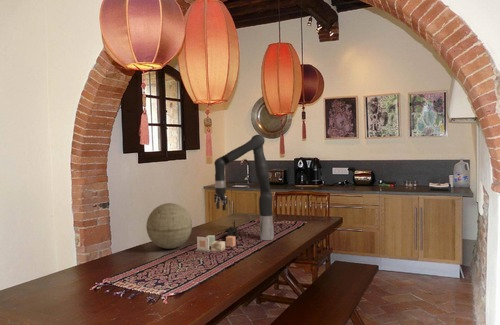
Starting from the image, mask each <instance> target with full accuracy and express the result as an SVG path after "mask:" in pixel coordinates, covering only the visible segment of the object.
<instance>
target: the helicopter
mask: <svg viewBox="0 0 500 325" xmlns="http://www.w3.org/2000/svg"><path fill="white" fill-rule="evenodd" d="M232 225H233V226H229V227H226V228H224V226H221V225H218V227H220V228H224V229H222V230H217V231H215V232H214V233H215V234H216V233H218V232H221V231H224V230H225V233H223V234H222V236H223V237H222V238H223V239H224V238H225V240H226V237H228V236H235V238H236V239H239V237H240V236H239V235H240V234H238V233H237V232H238V230H240V231H245V230H244V229H240V228H238V227H240V226H242V224H241V225H238V227H237V226H236V220H235V219H234V220H233V221H232ZM243 226H246V224H243Z"/></svg>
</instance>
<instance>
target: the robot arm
mask: <svg viewBox="0 0 500 325" xmlns="http://www.w3.org/2000/svg"><path fill="white" fill-rule="evenodd" d="M264 145H265V138H264V136H263V135H261V134H255V135H253V136H252V137H251V138H250V139H249V140H248V141H247V142H245V143H244V144H241V145H240V146H239V147H236V148H234V149H232V150H231V151H229V152H227V153H226V154H224V155H223V156H220V157H218V158H216V159H214V163H213V164H214V169H215V170H214V171H215V172H214V195H213V196H214V197H213V199H214V200H213V202H214V203H215V205H216V206H215V207H216V210H219V209H220V204H221V205H222V211H226V210H227V208H226V207H227V206H226V205H228V196H227V195H225V194H226V192H227V187H226V175H225V174H226V173H225V171H226V165H228V164H231V163H232V162H234V161H237V160H238V159H240V158H241V157H243V156H244V155H245V154H248V153H249V152H252V151H253V160H254V170H255V175H256V176H255V177H256V179H257V182H258V185H259V189H260V192H259V193H260V196H259V198H258V212H259V240H261V241H272V240H273V239H274V238H275V237H274V236H275V232H274V231H275V230H274V226H275V225H274V223H273V222H274V220H273V219H274V218H273V217H274V216H273V215H274V214H273V212H274V211H273V201H274V199H273V198H274V197H273V194H272V190H271V186H270V185H271V184H270V172H269V166H268V162H267V159H266V156H265V153H264Z"/></svg>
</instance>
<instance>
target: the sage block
mask: <svg viewBox="0 0 500 325" xmlns="http://www.w3.org/2000/svg"><path fill="white" fill-rule="evenodd" d="M206 238H209V247H211V243H213V242H214V241H216V235H215V234H214V235H213V234H212V235H210V234H208V235H207V236H206Z"/></svg>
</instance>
